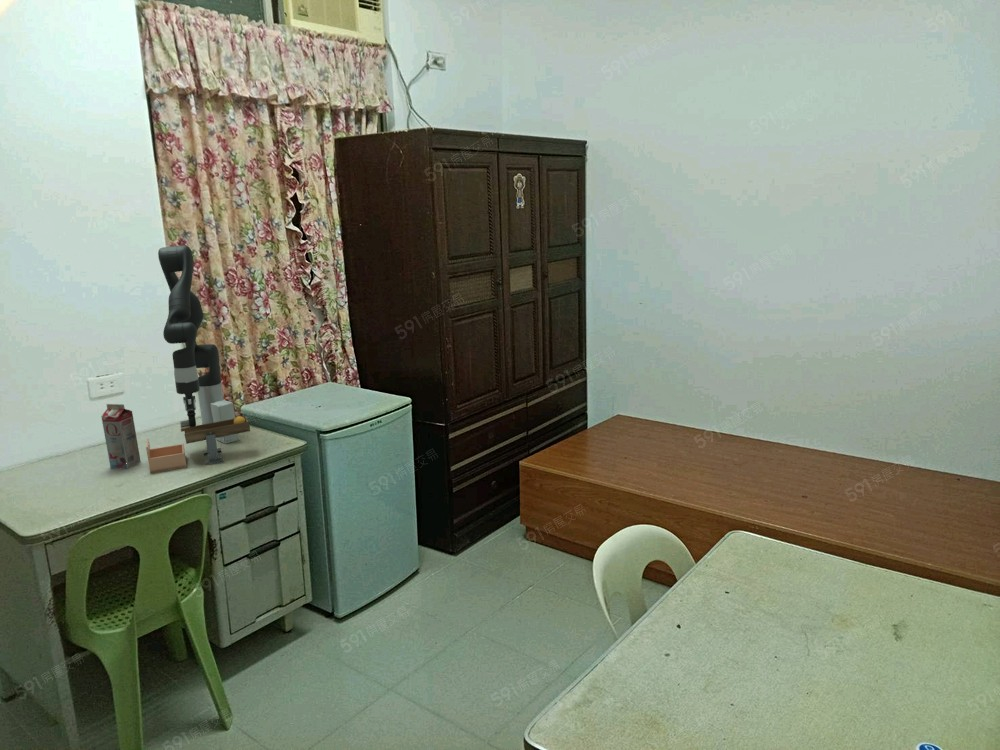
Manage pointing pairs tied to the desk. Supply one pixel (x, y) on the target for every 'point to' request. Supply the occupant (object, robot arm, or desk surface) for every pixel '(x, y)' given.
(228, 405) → the skincare box
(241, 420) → the ball
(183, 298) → the robot arm
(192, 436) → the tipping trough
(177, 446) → the cup
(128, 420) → the juice carton
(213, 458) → the lever stand
